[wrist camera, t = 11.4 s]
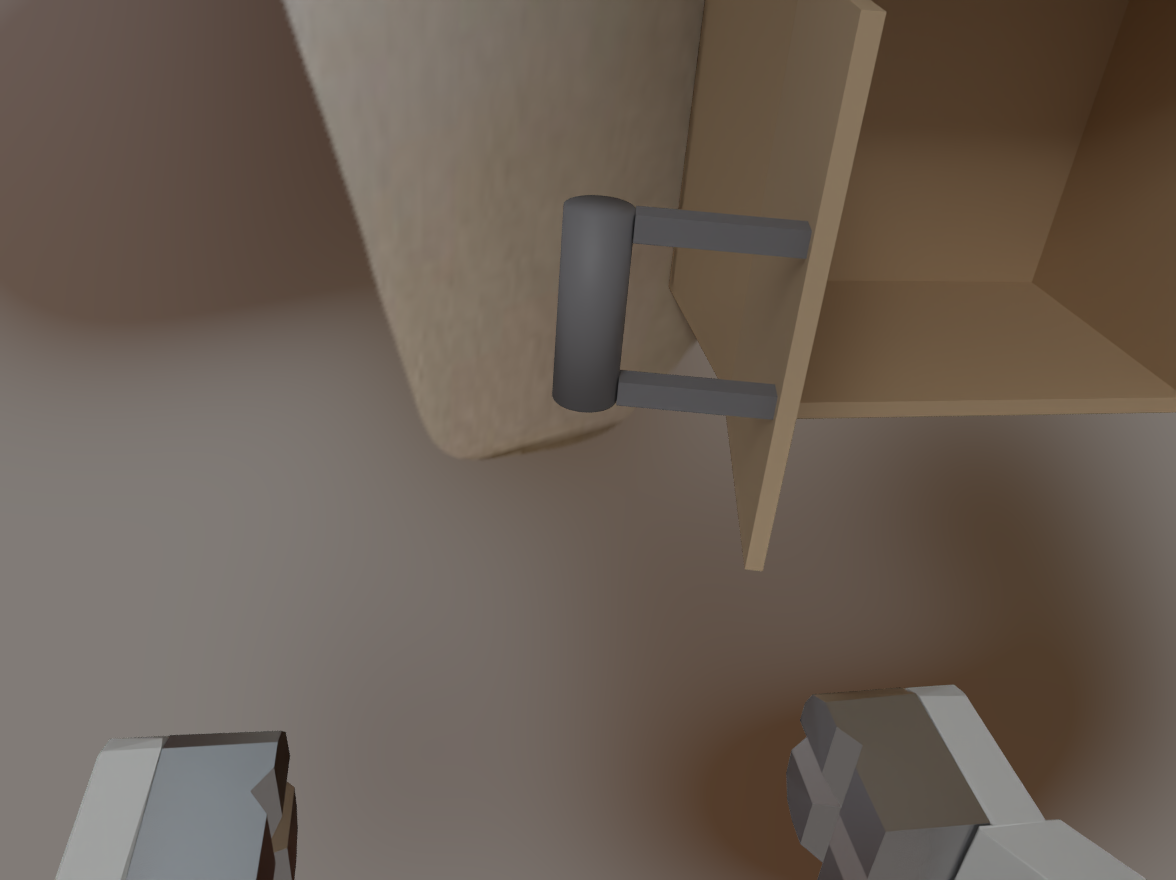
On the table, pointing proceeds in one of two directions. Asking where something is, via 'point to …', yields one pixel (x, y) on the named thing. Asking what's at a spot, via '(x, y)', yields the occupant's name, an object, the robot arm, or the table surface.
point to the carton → (963, 207)
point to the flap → (777, 239)
